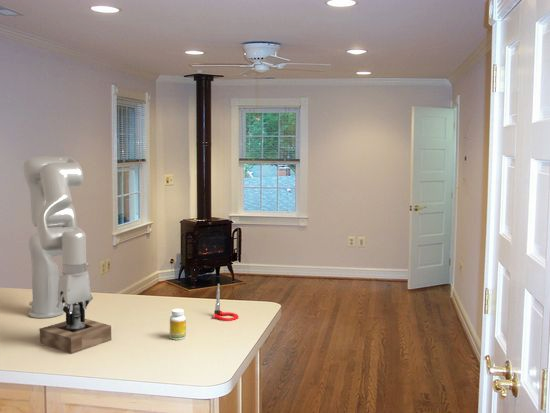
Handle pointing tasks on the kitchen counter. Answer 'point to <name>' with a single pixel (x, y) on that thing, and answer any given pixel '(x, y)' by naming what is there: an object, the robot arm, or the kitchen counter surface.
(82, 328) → the dark stone chess piece
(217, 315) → the tow hook
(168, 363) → the kitchen counter surface
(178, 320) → the supplement bottle
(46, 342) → the well block
